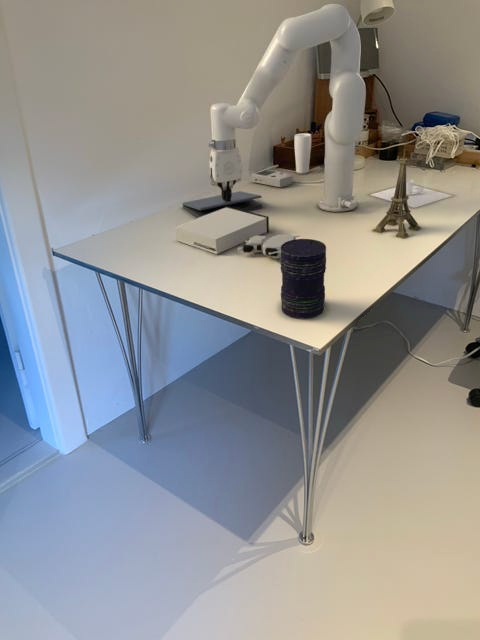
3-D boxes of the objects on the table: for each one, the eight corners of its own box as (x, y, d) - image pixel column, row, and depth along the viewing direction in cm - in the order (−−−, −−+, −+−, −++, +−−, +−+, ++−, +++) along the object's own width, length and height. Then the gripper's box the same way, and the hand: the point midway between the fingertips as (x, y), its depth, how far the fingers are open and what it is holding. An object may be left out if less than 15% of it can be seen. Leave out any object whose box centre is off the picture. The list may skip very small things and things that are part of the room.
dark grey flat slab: (262, 207, 186) (262, 204, 186) (201, 220, 178) (201, 217, 177) (240, 196, 199) (240, 193, 198) (182, 208, 190) (182, 204, 189)
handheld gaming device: (280, 188, 205) (280, 178, 203) (251, 182, 214) (250, 173, 212) (294, 183, 211) (294, 173, 209) (265, 178, 219) (265, 168, 218)
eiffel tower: (404, 238, 156) (414, 150, 143) (372, 231, 162) (378, 145, 150) (421, 228, 162) (432, 142, 150) (389, 221, 169) (397, 138, 156)
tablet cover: (261, 197, 185) (261, 195, 185) (200, 210, 176) (200, 208, 176) (240, 193, 198) (240, 191, 198) (182, 205, 189) (182, 202, 189)
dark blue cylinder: (307, 324, 116) (308, 260, 109) (272, 310, 122) (270, 249, 115) (333, 306, 123) (335, 244, 115) (298, 294, 129) (298, 235, 121)
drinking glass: (311, 174, 221) (312, 136, 213) (294, 175, 221) (294, 137, 214) (309, 170, 227) (310, 132, 219) (293, 170, 227) (293, 133, 219)
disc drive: (269, 231, 166) (268, 216, 163) (217, 255, 152) (216, 238, 149) (228, 220, 176) (227, 205, 174) (176, 241, 163) (174, 225, 160)
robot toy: (235, 260, 150) (284, 264, 143) (233, 244, 148) (283, 248, 141) (256, 244, 159) (303, 248, 152) (254, 229, 157) (302, 233, 150)
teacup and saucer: (426, 193, 192) (427, 181, 190) (411, 197, 188) (412, 186, 186) (406, 188, 198) (408, 176, 196) (391, 192, 194) (392, 181, 192)
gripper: (207, 149, 167) (211, 207, 177) (250, 143, 173) (251, 199, 182) (198, 145, 173) (202, 201, 182) (239, 139, 179) (241, 194, 188)
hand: (226, 200), depth 182 cm, fingers closed
